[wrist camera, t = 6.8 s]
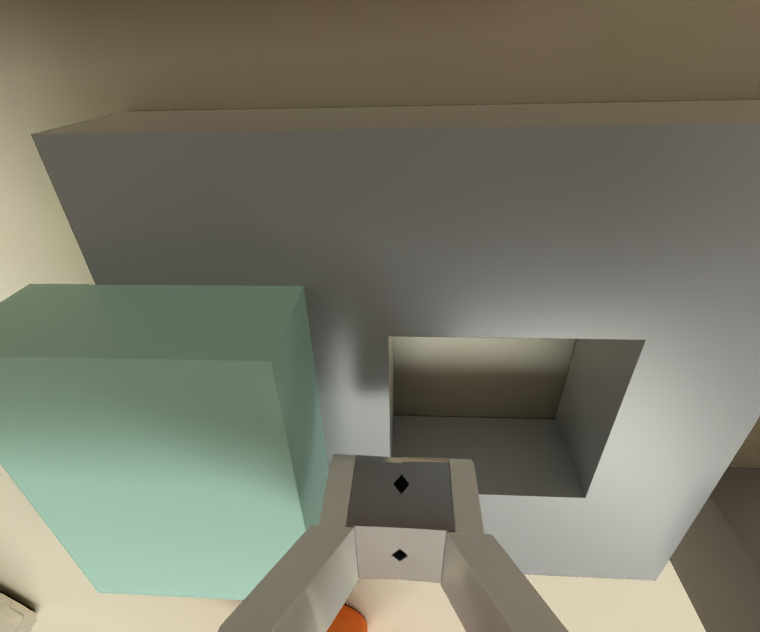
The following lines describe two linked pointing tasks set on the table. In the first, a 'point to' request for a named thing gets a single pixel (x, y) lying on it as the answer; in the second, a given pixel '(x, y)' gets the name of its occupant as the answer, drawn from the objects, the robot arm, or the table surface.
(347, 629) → the paper cup
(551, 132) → the socket
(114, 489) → the mint green block
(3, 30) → the table surface
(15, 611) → the book
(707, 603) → the plug
